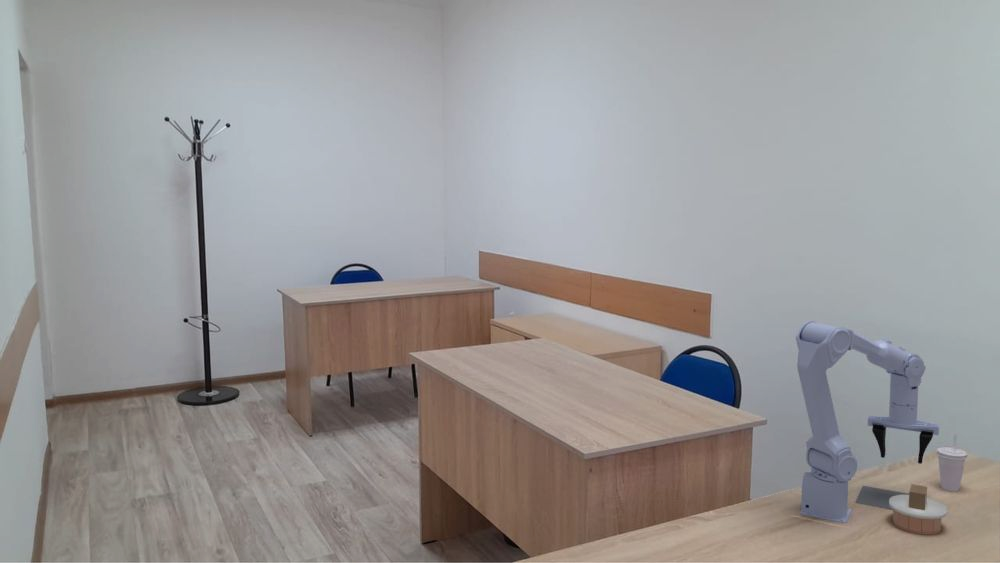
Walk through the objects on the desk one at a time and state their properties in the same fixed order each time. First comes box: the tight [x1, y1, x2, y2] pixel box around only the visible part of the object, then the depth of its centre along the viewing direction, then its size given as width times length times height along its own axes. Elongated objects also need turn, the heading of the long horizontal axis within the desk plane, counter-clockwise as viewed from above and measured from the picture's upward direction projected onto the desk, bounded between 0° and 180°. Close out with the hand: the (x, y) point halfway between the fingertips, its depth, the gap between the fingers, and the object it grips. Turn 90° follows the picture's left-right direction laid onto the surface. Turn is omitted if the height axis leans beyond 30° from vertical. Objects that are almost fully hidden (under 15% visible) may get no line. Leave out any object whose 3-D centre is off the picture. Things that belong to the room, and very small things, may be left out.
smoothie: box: [935, 433, 968, 492], centre depth 177 cm, size 6×6×14 cm
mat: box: [855, 485, 909, 511], centre depth 172 cm, size 12×12×1 cm
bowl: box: [892, 510, 943, 535], centre depth 158 cm, size 9×9×4 cm
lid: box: [889, 483, 948, 519], centre depth 158 cm, size 11×11×4 cm
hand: (901, 459), depth 171 cm, fingers open, 7 cm apart
